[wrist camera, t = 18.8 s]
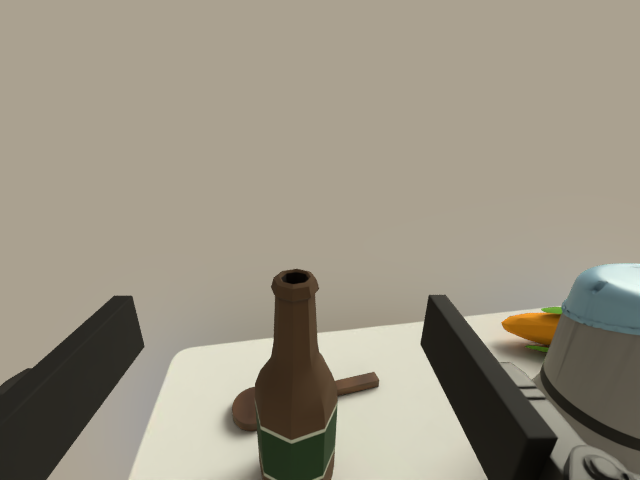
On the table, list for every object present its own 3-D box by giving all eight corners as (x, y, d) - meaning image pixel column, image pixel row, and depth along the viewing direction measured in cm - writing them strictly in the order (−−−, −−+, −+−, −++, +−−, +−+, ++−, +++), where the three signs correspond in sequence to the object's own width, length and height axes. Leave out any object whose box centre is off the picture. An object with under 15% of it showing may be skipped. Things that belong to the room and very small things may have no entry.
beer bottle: (332, 441, 36) (342, 257, 27) (333, 522, 28) (347, 306, 20) (267, 439, 36) (256, 254, 27) (251, 518, 29) (230, 301, 20)
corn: (662, 330, 45) (518, 315, 47) (644, 372, 47) (507, 356, 50) (622, 305, 52) (498, 294, 54) (608, 343, 54) (490, 330, 57)
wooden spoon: (367, 368, 47) (368, 362, 46) (385, 397, 42) (386, 391, 41) (232, 398, 41) (231, 391, 41) (233, 436, 36) (232, 429, 36)
